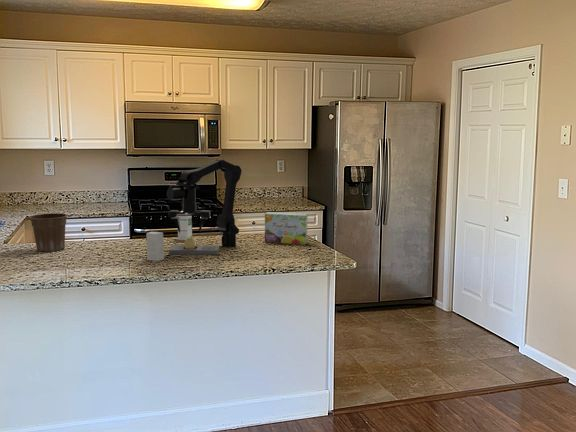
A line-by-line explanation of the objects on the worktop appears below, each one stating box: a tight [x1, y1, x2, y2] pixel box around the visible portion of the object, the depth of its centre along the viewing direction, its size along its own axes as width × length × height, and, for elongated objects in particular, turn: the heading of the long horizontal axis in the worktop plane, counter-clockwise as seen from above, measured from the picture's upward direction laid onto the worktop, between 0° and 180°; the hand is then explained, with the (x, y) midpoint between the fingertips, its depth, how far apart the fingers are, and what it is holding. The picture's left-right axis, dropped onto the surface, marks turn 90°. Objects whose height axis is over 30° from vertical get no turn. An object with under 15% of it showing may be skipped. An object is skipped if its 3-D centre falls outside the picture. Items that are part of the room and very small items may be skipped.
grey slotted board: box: [168, 244, 221, 256], centre depth 264 cm, size 22×11×2 cm, turn 92°
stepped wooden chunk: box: [184, 236, 197, 249], centre depth 263 cm, size 4×5×7 cm
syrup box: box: [177, 210, 193, 241], centre depth 293 cm, size 6×6×14 cm
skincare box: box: [146, 231, 165, 262], centre depth 247 cm, size 6×4×12 cm
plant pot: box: [29, 212, 68, 253], centre depth 265 cm, size 16×16×16 cm
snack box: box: [264, 211, 308, 246], centre depth 287 cm, size 21×6×15 cm, turn 77°
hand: (189, 232), depth 262 cm, fingers open, 9 cm apart
